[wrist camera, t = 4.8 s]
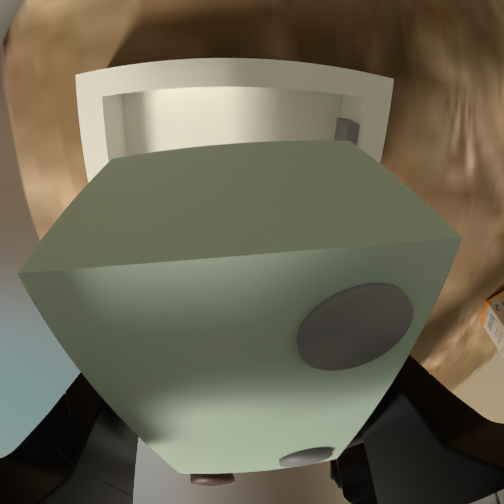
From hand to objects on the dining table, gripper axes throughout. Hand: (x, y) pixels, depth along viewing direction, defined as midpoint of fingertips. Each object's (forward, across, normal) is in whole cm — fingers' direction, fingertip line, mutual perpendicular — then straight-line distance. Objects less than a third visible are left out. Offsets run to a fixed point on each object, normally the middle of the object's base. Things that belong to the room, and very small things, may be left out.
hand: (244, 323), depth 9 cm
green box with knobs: (+1, 0, 0) cm, 1 cm away
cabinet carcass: (+10, 0, 0) cm, 10 cm away
